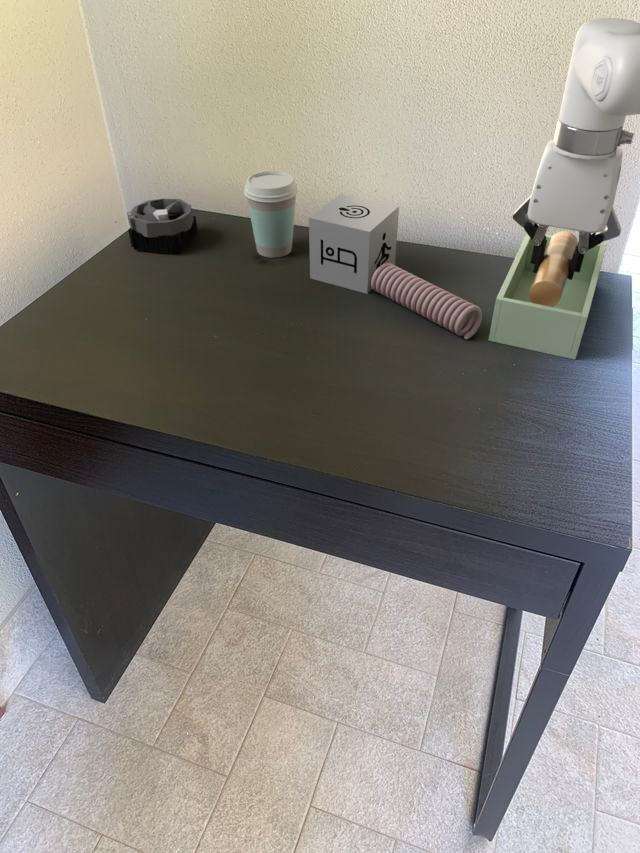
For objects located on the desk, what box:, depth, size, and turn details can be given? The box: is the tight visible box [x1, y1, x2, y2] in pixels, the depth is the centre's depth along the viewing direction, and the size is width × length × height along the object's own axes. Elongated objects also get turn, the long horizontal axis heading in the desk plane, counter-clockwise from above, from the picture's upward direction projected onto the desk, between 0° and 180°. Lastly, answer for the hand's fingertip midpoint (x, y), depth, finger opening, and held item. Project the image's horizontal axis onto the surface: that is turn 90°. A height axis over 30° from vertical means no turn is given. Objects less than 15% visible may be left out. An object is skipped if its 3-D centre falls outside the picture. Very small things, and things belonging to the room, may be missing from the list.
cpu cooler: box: [126, 198, 199, 254], centre depth 115 cm, size 10×6×10 cm
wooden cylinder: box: [529, 230, 578, 307], centre depth 95 cm, size 16×4×4 cm
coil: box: [371, 263, 483, 340], centre depth 98 cm, size 5×5×18 cm
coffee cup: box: [243, 169, 299, 259], centre depth 111 cm, size 9×8×12 cm
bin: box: [488, 233, 608, 361], centre depth 97 cm, size 12×22×7 cm, turn 156°
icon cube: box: [308, 193, 400, 295], centre depth 105 cm, size 10×10×10 cm
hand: (554, 270), depth 95 cm, fingers closed on wooden cylinder, 4 cm apart
